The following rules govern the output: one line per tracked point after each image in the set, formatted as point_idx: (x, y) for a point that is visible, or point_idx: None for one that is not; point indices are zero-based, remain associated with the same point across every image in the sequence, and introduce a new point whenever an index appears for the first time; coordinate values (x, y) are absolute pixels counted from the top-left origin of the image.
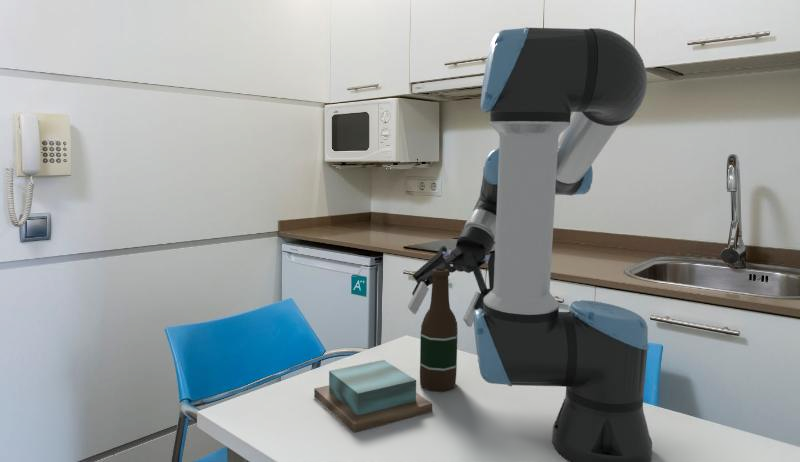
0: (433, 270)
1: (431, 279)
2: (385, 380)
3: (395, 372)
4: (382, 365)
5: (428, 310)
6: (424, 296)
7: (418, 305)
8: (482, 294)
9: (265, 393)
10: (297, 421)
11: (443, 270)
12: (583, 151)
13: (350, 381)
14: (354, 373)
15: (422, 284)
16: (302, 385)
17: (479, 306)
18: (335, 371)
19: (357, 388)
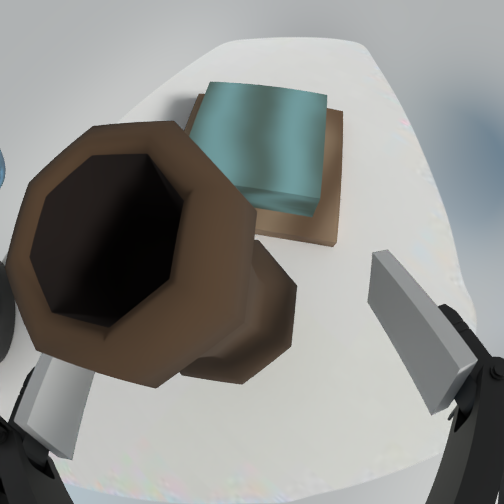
0: (160, 124)
1: (456, 444)
2: (218, 133)
3: (236, 169)
4: (290, 173)
5: (257, 266)
6: (411, 371)
7: (385, 318)
8: (17, 429)
9: (380, 89)
10: (277, 73)
11: (109, 324)
12: None
13: (260, 93)
14: (288, 113)
15: (449, 353)
16: (386, 130)
17: (30, 373)
18: (317, 99)
19: (226, 88)
